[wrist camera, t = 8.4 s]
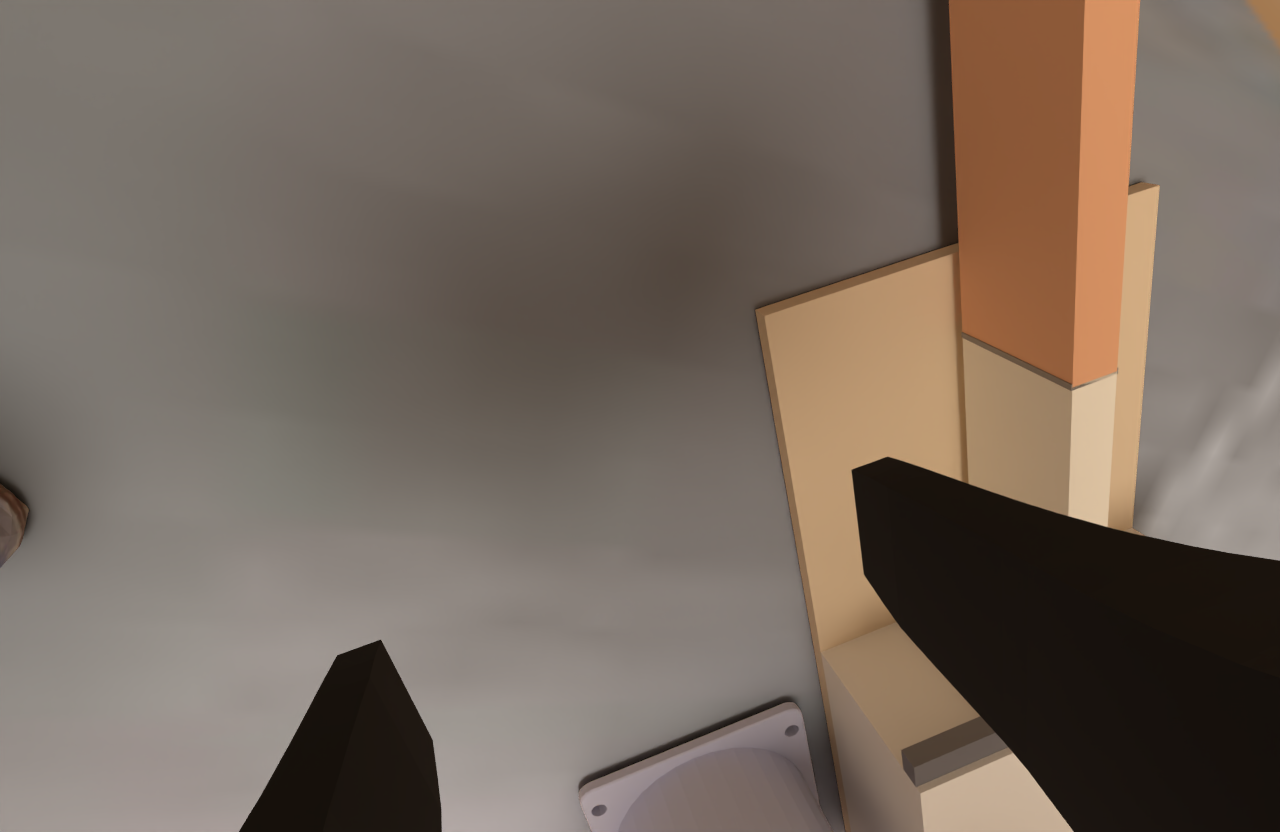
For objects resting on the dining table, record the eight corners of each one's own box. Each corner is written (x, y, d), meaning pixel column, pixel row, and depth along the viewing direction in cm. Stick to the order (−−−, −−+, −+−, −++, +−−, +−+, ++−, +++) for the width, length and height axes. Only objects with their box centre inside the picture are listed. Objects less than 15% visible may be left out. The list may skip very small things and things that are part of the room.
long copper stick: (1004, 546, 25) (1102, 625, 22) (970, 559, 25) (1063, 641, 21) (993, -213, 16) (1159, -293, 12) (939, -200, 16) (1091, -277, 12)
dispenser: (1103, 727, 32) (1243, 860, 27) (847, 840, 31) (940, 1005, 25) (1141, 182, 22) (1383, 220, 17) (755, 309, 20) (881, 398, 15)
